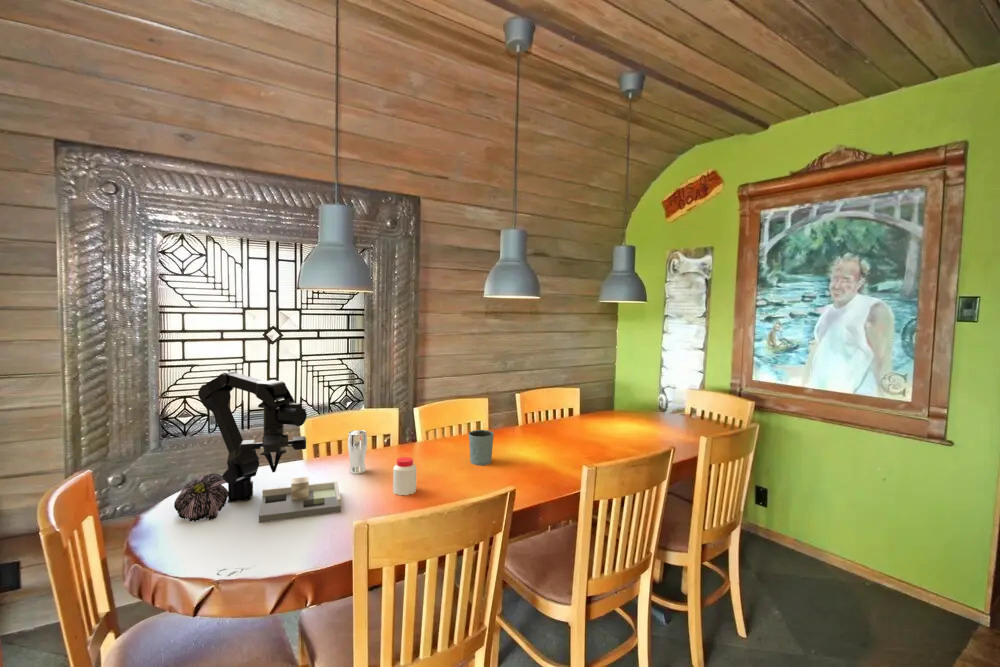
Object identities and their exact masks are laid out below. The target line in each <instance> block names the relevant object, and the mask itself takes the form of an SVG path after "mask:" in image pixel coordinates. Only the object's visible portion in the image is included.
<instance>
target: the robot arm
mask: <svg viewBox="0 0 1000 667" xmlns="http://www.w3.org/2000/svg"><path fill="white" fill-rule="evenodd" d="M234 389H237V390H238V389H239V390H241V391H244V392H248V393H250V394H253V395H255V397H256V398H257V399H259V400H260V401H261V402H260V403H259V404H258V405H257V407H258V408H259V409H263V436H262V442H256V439H243V436H242V435H241V432H240V430H239V426H238V425H237V423H236V419H235V417H234V415H233V413H232V409H231V408H230V402H231V397H232V396H231V392H232V391H233V390H234ZM197 395H198V398H199V400H200V402H201V403H202V406H203V407H205V408H206V409H208V411H209V412H212V415H213V418H214V420H215V422H216V424H217V427H218V429H219V431H220V434H221V437H222V439H223V442H224V444H225V446H226V449H227V451H228V456H227V461H226V464H227V467H228V468H227V469H226V471H224V473H223V474H222V476H223V477H224V478H225V479H226V480H227V482H226V483H225V484H227V485H228V488H227V491H228V492H229V496H228V497H227V500H226V503H232V502H233V503H234V502H242V501H250V500H251V499H252V496H253V495H254V481H253V480H252V478H253V477H256V476H257V474H258V469H259V466H260V461H259V460H260V457H259V456H258V454H257V452H256V450H260V454H259V455H261V456H264V457H265V459H266V460H267V462H268V464H269V468H270V470H271V473H276V472H277V468H278V464H279V462H280V460H281V457H282V456H283V455H284V454H286V453H287V451H288V450H287V449H288V447H292V448H293V449H294V450H295V451H297V450H306V449H307V437H306V436H305V435H304V436H300V435H299V436H292V439H291V440H289V434H285V426H291V427H292V426H293V427H301V426H303V425H304V424H305V422H306V420H307V415H308V414H307V412H306V409H305V408H304V407H302V406H303V405H302V403H300V402H297V403H295V402H296V401H295V399H294V398H293V396H292V394H291V392H290V391H289V389H288V387H287V385H286V383H285V382H284V381H282V380H262V379H258V378H255V377H252V376H247V375H245V374H242V373H238V372H237V371H225V372H222V373H220V374H219V375H218V376H217V377H216V378H214V379H212V380H209V381H208V382H206V383H205V384H202V385H201V386H200V387H199V390H198V392H197ZM273 453H275V457H274V455H273ZM274 458H275V459H274Z"/></svg>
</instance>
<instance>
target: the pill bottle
mask: <svg viewBox="0 0 1000 667" xmlns="http://www.w3.org/2000/svg"><path fill="white" fill-rule="evenodd" d="M392 471H393V472H392V474H393V475H392V493H393V494H394V493H395V494H394V495H396V494H398V495H397V496H401V495H405V496H410V495H409V494H411V495H413V494H415V493H416V491H417V465H416V464H415V463H414V459H413V458H412V457H410V456H401V457H398V458H397V459H396V464H395V465H394V466H393V468H392ZM414 492H415V493H414Z"/></svg>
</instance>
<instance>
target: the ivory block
mask: <svg viewBox="0 0 1000 667" xmlns="http://www.w3.org/2000/svg"><path fill="white" fill-rule="evenodd" d="M309 481H310V480H309V476H305V477H296V478H295V477H294V478H293V477H292V478H291V482H290V483H291V484H290V486H291V500H294V499H302V498H309V484H310V483H309Z"/></svg>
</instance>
